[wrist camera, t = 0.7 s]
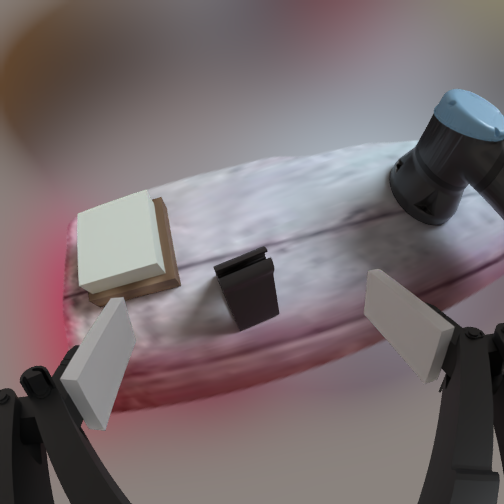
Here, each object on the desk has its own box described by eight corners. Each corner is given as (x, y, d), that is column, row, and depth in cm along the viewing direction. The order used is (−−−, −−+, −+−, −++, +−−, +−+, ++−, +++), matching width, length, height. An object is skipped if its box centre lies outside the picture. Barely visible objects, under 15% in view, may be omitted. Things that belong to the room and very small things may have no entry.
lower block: (167, 210, 48) (161, 197, 45) (181, 286, 43) (175, 278, 39) (95, 232, 47) (85, 221, 43) (101, 307, 42) (89, 301, 38)
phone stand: (216, 275, 43) (202, 239, 32) (253, 260, 44) (252, 219, 33) (239, 331, 40) (233, 314, 29) (279, 314, 41) (287, 291, 30)
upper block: (154, 204, 44) (146, 189, 41) (165, 273, 40) (156, 262, 36) (88, 225, 43) (77, 213, 39) (92, 294, 38) (79, 285, 35)
